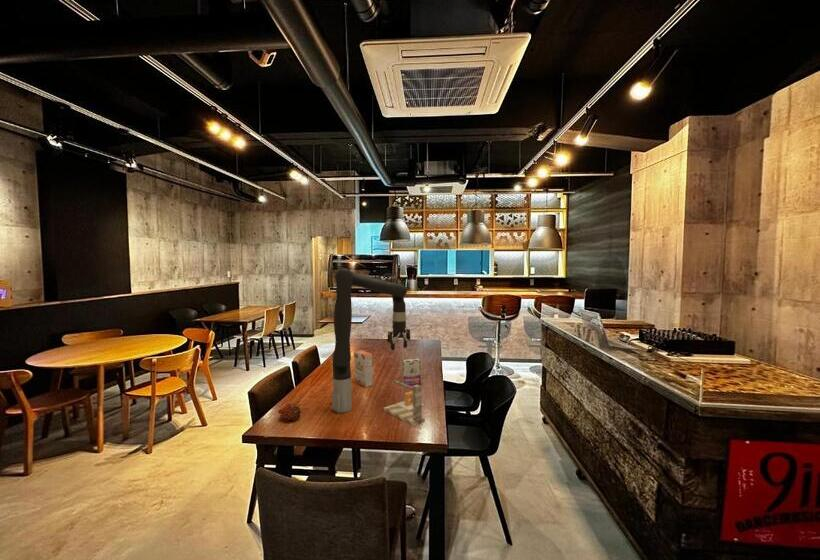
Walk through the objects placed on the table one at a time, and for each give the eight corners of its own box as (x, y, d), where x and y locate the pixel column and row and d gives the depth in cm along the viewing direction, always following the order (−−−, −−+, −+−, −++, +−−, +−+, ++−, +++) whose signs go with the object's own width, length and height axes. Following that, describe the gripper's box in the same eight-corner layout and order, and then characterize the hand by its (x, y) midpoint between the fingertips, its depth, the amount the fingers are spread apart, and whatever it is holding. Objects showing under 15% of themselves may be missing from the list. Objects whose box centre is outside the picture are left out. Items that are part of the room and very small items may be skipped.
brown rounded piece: (301, 424, 170) (280, 425, 172) (307, 409, 176) (286, 410, 179) (293, 415, 165) (271, 416, 168) (299, 399, 171) (278, 401, 174)
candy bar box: (419, 382, 224) (418, 357, 223) (420, 385, 219) (420, 360, 218) (402, 384, 222) (401, 359, 221) (403, 386, 217) (403, 361, 216)
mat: (408, 411, 180) (408, 410, 180) (395, 404, 188) (395, 403, 188) (423, 405, 187) (423, 404, 187) (410, 399, 195) (410, 398, 195)
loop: (407, 406, 185) (407, 394, 185) (404, 404, 187) (404, 393, 186) (415, 403, 188) (415, 392, 188) (412, 402, 190) (412, 390, 190)
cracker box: (354, 382, 226) (353, 350, 226) (362, 380, 230) (361, 349, 229) (364, 388, 215) (364, 355, 214) (373, 386, 219) (372, 353, 218)
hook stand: (424, 421, 168) (424, 385, 167) (413, 426, 163) (413, 388, 162) (394, 406, 186) (393, 373, 185) (384, 410, 181) (383, 376, 181)
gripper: (405, 318, 198) (404, 345, 199) (384, 320, 189) (384, 349, 190) (413, 319, 192) (413, 348, 193) (392, 321, 183) (392, 352, 184)
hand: (399, 348), depth 191 cm, fingers open, 8 cm apart
